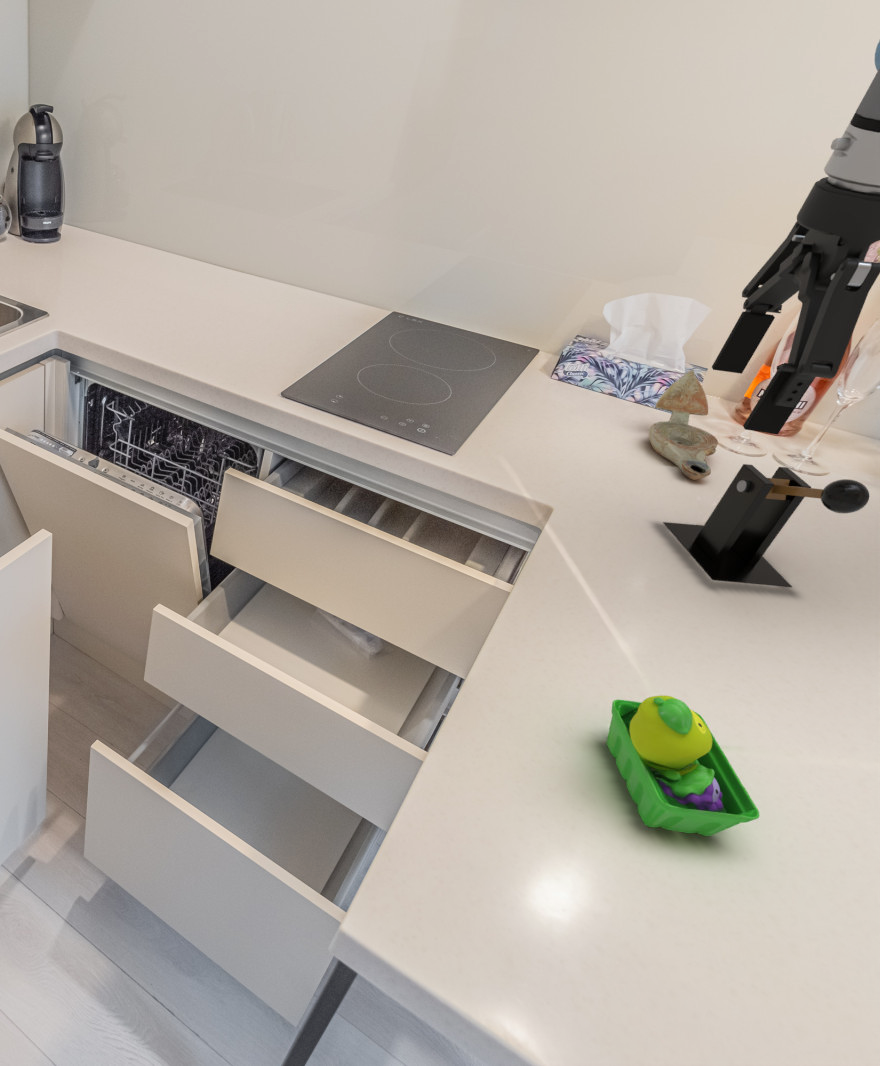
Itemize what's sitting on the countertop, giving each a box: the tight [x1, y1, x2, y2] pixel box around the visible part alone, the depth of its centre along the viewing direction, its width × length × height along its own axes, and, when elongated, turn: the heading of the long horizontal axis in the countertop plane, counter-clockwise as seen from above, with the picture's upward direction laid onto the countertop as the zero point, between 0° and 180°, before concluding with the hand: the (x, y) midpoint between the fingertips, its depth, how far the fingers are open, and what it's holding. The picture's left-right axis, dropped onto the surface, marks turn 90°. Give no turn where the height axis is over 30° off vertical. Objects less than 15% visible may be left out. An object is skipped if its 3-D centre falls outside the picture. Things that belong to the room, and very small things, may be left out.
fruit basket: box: [606, 694, 760, 837], centre depth 65 cm, size 11×9×11 cm
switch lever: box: [765, 477, 870, 514], centre depth 84 cm, size 13×4×4 cm, turn 173°
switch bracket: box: [662, 463, 812, 588], centre depth 92 cm, size 12×9×13 cm
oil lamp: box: [648, 370, 719, 481], centre depth 114 cm, size 9×21×10 cm, turn 157°
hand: (742, 398), depth 80 cm, fingers open, 13 cm apart
